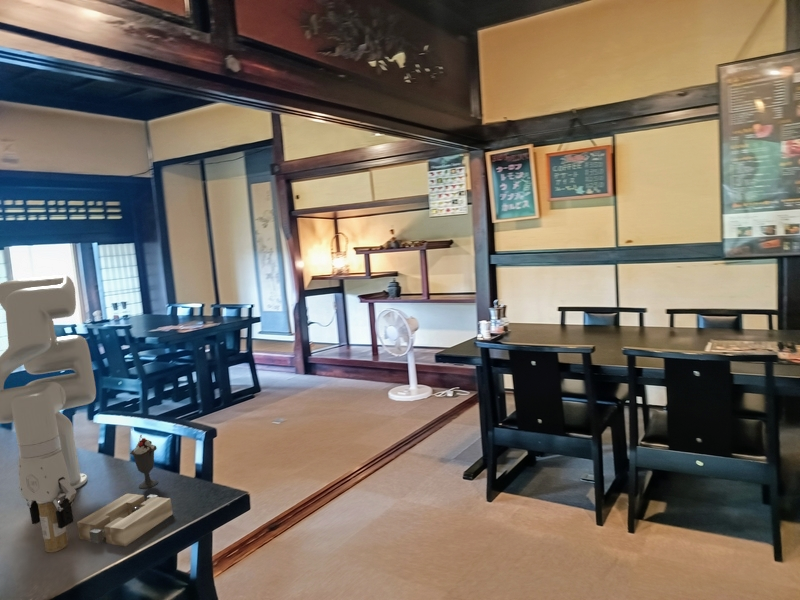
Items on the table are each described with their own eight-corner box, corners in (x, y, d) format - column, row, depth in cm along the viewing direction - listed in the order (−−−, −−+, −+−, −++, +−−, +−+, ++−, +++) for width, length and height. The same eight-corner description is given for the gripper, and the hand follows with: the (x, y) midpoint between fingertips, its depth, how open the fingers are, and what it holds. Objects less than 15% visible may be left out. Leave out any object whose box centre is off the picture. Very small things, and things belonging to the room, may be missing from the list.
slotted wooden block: (79, 538, 123) (77, 522, 123) (129, 508, 136) (127, 493, 136) (125, 546, 118) (122, 529, 118) (172, 514, 131) (170, 498, 131)
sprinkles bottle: (69, 548, 120) (59, 490, 118) (45, 556, 117) (34, 497, 116) (68, 539, 124) (59, 483, 122) (45, 547, 121) (35, 490, 120)
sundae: (144, 492, 145) (136, 438, 143) (130, 487, 149) (122, 435, 147) (166, 481, 151) (159, 430, 149) (152, 477, 154) (144, 427, 153)
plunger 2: (129, 517, 130) (128, 507, 129) (151, 503, 136) (150, 494, 136) (137, 518, 129) (135, 508, 128) (159, 504, 135) (157, 495, 135)
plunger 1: (90, 541, 120) (89, 531, 119) (116, 525, 126) (115, 516, 126) (98, 543, 119) (97, 532, 119) (124, 526, 125) (122, 517, 125)
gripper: (-5, 451, 117) (9, 527, 119) (51, 456, 111) (65, 537, 113) (29, 438, 124) (42, 510, 126) (84, 442, 118) (96, 518, 120)
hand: (52, 522), depth 120 cm, fingers open, 7 cm apart
